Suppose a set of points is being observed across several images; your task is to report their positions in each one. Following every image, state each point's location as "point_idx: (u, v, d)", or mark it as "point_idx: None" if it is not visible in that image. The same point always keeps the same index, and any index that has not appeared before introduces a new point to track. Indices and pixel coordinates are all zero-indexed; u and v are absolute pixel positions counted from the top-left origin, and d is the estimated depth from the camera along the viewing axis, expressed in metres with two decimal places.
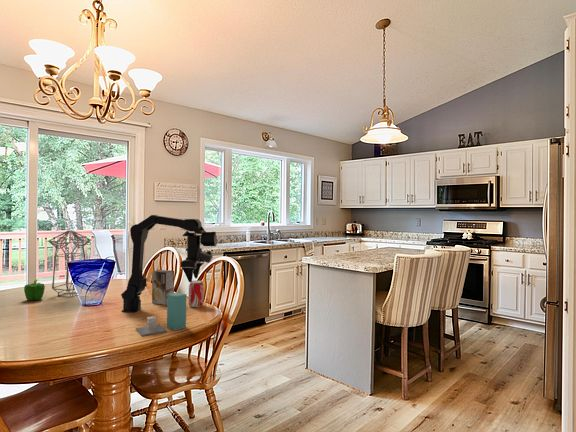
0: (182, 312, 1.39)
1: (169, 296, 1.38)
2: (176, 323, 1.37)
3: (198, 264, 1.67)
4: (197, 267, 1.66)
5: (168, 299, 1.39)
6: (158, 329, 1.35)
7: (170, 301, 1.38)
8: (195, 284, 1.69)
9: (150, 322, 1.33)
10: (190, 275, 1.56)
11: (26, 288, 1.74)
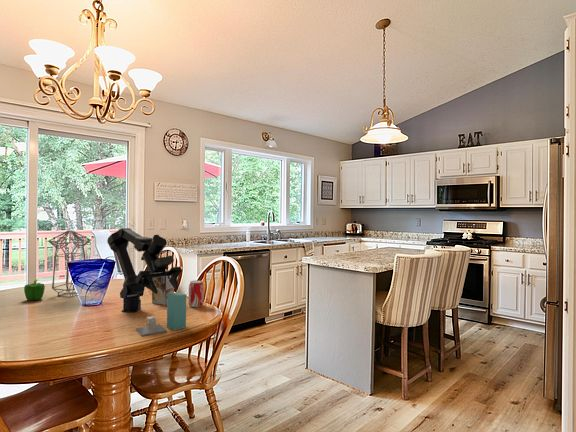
0: (182, 312, 1.39)
1: (169, 296, 1.38)
2: (176, 323, 1.37)
3: (172, 275, 1.50)
4: (173, 279, 1.50)
5: (168, 299, 1.39)
6: (158, 329, 1.35)
7: (170, 301, 1.38)
8: (195, 284, 1.69)
9: (150, 322, 1.33)
10: (151, 286, 1.41)
11: (26, 288, 1.74)
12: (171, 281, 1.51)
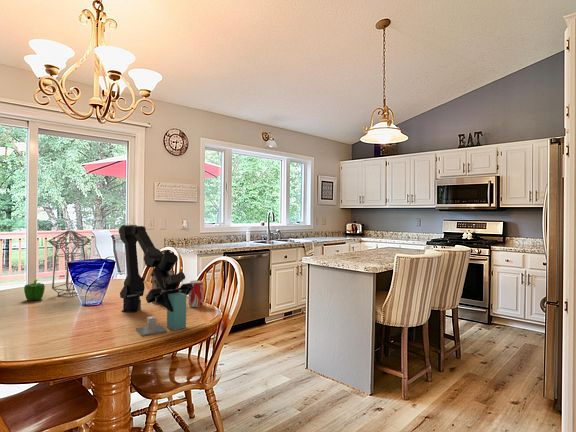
0: (182, 312, 1.39)
1: (169, 296, 1.38)
2: (176, 323, 1.37)
3: None
4: None
5: None
6: (158, 329, 1.35)
7: (170, 301, 1.38)
8: (195, 284, 1.69)
9: (150, 322, 1.33)
10: (167, 304, 1.37)
11: (26, 288, 1.74)
12: None
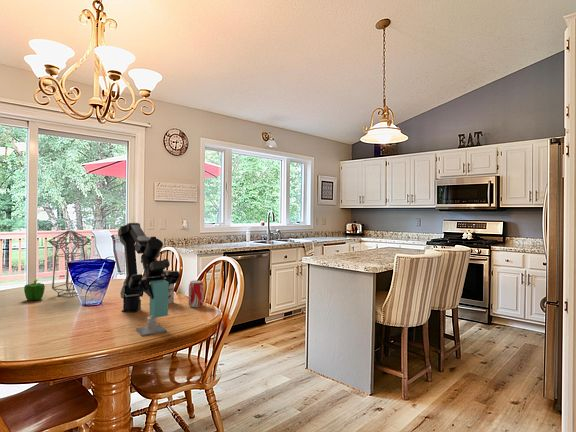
0: (163, 300, 1.35)
1: (151, 283, 1.35)
2: (156, 311, 1.33)
3: None
4: None
5: (150, 286, 1.36)
6: (158, 329, 1.35)
7: (151, 288, 1.35)
8: (195, 284, 1.69)
9: (150, 322, 1.33)
10: (148, 291, 1.34)
11: (26, 288, 1.74)
12: None
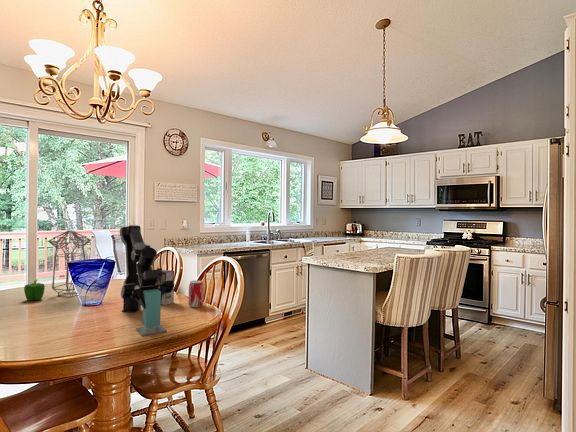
0: (156, 310, 1.33)
1: (144, 292, 1.34)
2: (148, 321, 1.32)
3: None
4: None
5: (143, 295, 1.35)
6: (158, 329, 1.35)
7: (144, 298, 1.34)
8: (195, 284, 1.69)
9: None
10: (140, 300, 1.33)
11: (26, 288, 1.74)
12: None
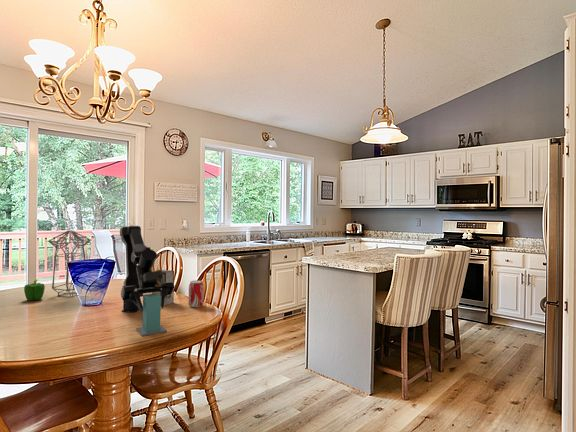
0: (155, 314, 1.33)
1: (143, 297, 1.34)
2: (148, 325, 1.32)
3: (161, 292, 1.39)
4: (161, 295, 1.39)
5: (143, 300, 1.35)
6: None
7: (144, 302, 1.34)
8: (195, 284, 1.69)
9: None
10: (138, 303, 1.32)
11: (26, 288, 1.74)
12: None
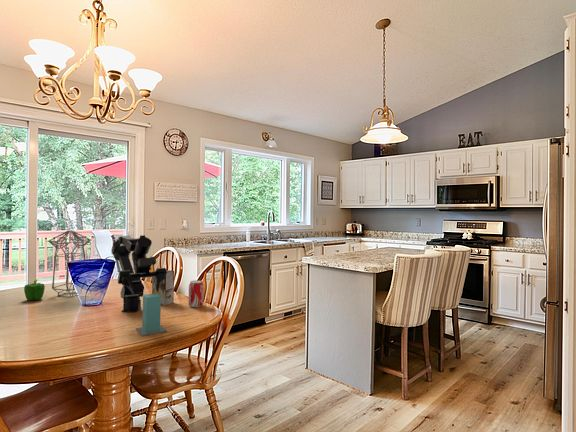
0: (155, 314, 1.33)
1: (143, 297, 1.34)
2: (148, 325, 1.32)
3: (156, 277, 1.50)
4: (156, 280, 1.49)
5: (143, 300, 1.35)
6: None
7: (144, 302, 1.34)
8: (195, 284, 1.69)
9: None
10: (130, 286, 1.42)
11: (26, 288, 1.74)
12: (155, 282, 1.50)
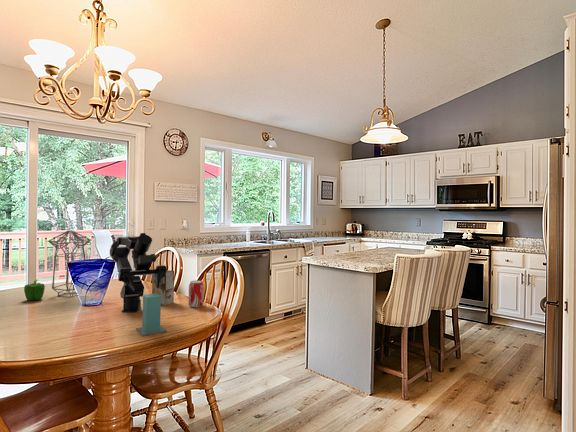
0: (155, 314, 1.33)
1: (143, 297, 1.34)
2: (148, 325, 1.32)
3: (156, 274, 1.51)
4: (156, 277, 1.50)
5: (143, 300, 1.35)
6: None
7: (144, 302, 1.34)
8: (195, 284, 1.69)
9: None
10: (130, 284, 1.43)
11: (26, 288, 1.74)
12: (155, 279, 1.51)
